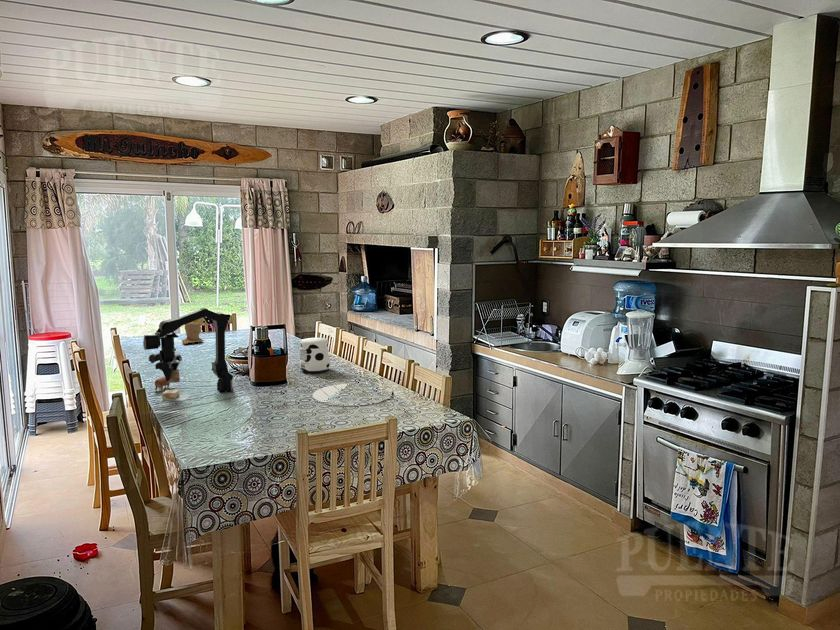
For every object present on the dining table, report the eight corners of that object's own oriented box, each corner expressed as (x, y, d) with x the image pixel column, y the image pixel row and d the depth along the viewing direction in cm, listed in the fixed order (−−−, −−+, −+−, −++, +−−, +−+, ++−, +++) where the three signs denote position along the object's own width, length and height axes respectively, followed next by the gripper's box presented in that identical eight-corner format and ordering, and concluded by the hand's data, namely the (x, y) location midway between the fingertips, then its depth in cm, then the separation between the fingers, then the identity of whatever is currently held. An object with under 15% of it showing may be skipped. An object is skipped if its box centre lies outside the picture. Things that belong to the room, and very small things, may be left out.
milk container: (333, 367, 356) (332, 337, 353) (326, 374, 339) (325, 343, 336) (304, 367, 358) (303, 337, 355) (295, 374, 341) (294, 342, 338)
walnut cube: (179, 379, 293) (179, 369, 292) (179, 381, 288) (178, 371, 288) (168, 380, 291) (167, 370, 291) (168, 382, 287) (167, 372, 286)
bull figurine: (177, 387, 313) (176, 372, 312) (159, 394, 300) (158, 378, 299) (170, 387, 314) (169, 371, 313) (152, 393, 301) (151, 377, 300)
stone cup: (198, 340, 443) (197, 320, 440) (205, 342, 434) (204, 322, 432) (177, 343, 432) (176, 322, 430) (184, 345, 424) (183, 324, 422)
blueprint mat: (191, 396, 296) (191, 394, 296) (184, 402, 286) (184, 400, 286) (166, 396, 295) (166, 394, 295) (158, 402, 286) (158, 400, 285)
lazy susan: (377, 382, 324) (377, 375, 324) (407, 400, 289) (407, 393, 289) (303, 390, 307) (303, 384, 307) (325, 411, 272) (325, 404, 272)
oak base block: (179, 395, 294) (179, 389, 293) (175, 399, 288) (174, 393, 287) (166, 396, 293) (166, 390, 293) (162, 399, 287) (162, 393, 287)
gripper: (157, 343, 296) (160, 375, 298) (142, 351, 277) (145, 384, 280) (181, 343, 296) (183, 374, 299) (167, 351, 278) (169, 384, 280)
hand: (170, 379), depth 289 cm, fingers closed on walnut cube, 5 cm apart
